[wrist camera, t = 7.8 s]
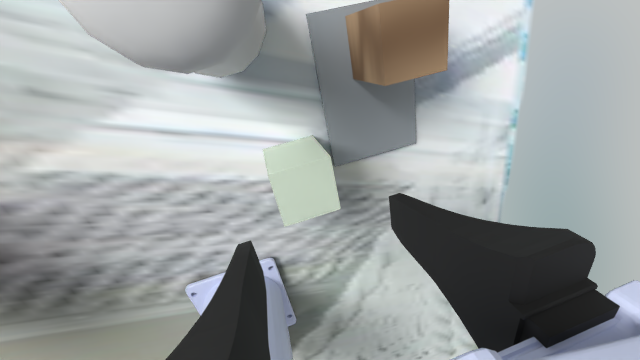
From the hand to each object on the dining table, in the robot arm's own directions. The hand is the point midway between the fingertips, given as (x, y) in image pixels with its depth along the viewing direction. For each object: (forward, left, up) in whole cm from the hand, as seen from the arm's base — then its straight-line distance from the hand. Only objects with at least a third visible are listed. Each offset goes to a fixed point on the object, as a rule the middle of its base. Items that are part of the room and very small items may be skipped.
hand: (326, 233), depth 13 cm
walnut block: (+7, -8, -9) cm, 14 cm away
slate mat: (+5, -7, -9) cm, 12 cm away
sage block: (0, 0, -10) cm, 10 cm away
